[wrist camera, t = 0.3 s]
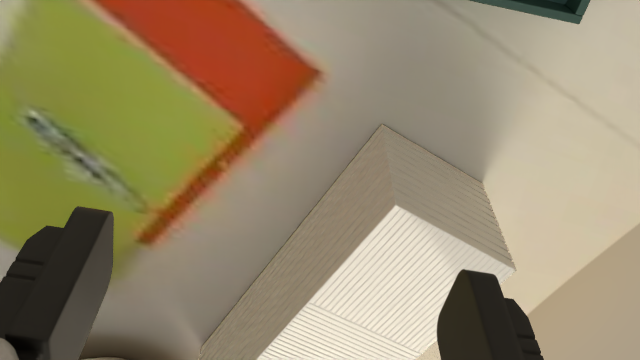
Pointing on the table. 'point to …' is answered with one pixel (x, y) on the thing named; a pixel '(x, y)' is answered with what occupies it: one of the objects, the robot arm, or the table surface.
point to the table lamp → (106, 358)
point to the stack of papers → (368, 263)
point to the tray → (545, 8)
